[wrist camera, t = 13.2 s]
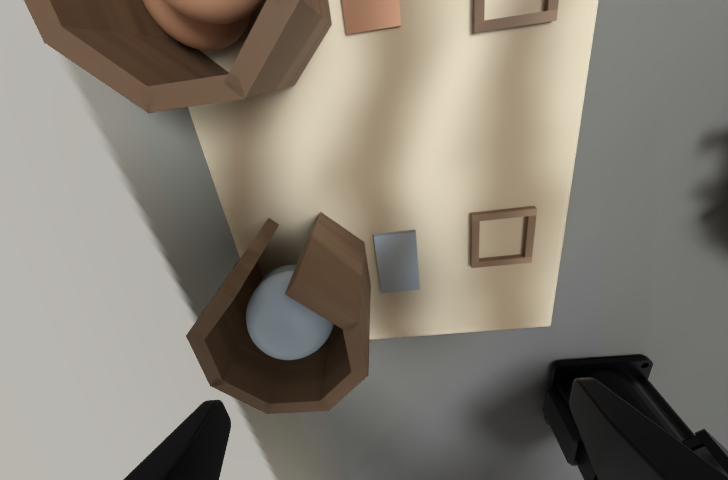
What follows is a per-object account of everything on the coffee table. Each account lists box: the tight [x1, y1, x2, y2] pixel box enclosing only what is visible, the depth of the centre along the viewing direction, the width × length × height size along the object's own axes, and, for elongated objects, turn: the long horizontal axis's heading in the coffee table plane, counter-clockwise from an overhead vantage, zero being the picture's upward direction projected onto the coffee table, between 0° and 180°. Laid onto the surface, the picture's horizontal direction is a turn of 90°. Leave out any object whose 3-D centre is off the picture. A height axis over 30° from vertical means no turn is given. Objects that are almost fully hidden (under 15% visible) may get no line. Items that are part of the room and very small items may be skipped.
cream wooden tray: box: [24, 0, 598, 414], centre depth 15 cm, size 19×26×8 cm
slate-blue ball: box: [246, 271, 334, 360], centre depth 16 cm, size 4×4×4 cm
